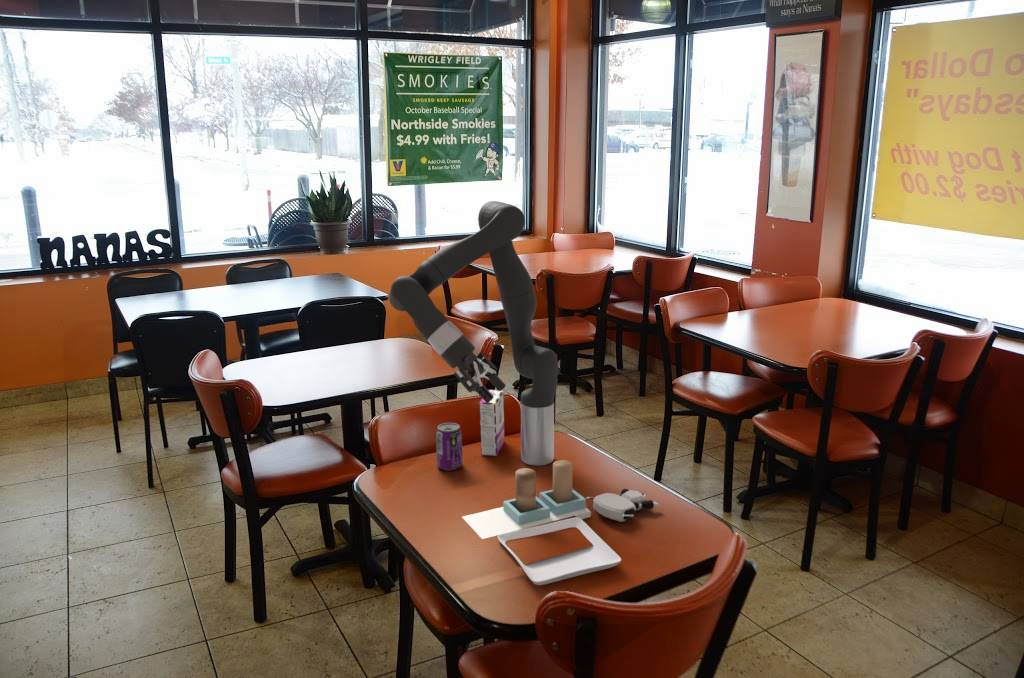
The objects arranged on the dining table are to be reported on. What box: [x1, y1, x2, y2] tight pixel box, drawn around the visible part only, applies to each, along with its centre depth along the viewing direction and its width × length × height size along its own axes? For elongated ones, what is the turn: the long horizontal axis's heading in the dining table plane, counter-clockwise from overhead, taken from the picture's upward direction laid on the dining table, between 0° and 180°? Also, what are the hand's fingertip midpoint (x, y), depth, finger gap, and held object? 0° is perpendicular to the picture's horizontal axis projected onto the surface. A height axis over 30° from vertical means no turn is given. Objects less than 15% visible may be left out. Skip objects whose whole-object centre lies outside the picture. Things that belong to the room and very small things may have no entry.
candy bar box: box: [478, 389, 506, 457], centre depth 237 cm, size 11×5×16 cm, turn 168°
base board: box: [461, 459, 592, 540], centre depth 196 cm, size 12×29×12 cm, turn 116°
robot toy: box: [585, 488, 660, 523], centre depth 200 cm, size 12×4×15 cm
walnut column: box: [515, 467, 537, 513], centre depth 196 cm, size 5×5×11 cm
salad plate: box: [497, 516, 622, 586], centre depth 180 cm, size 21×21×3 cm
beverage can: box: [435, 422, 464, 471], centre depth 226 cm, size 7×7×12 cm
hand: (497, 394), depth 194 cm, fingers open, 8 cm apart
